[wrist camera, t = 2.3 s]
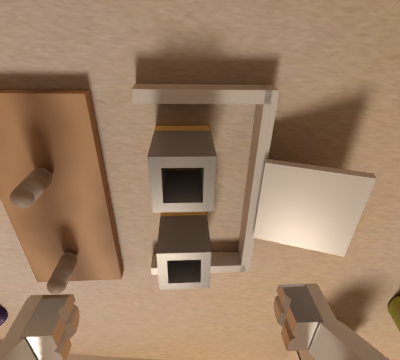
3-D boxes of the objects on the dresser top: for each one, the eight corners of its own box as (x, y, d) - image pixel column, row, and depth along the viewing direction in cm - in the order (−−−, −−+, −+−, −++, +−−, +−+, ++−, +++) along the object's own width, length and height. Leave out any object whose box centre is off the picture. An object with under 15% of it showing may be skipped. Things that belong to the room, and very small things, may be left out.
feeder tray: (362, 85, 21) (412, 102, 17) (308, 255, 31) (330, 296, 26) (135, 83, 20) (121, 101, 15) (153, 260, 30) (148, 303, 25)
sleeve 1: (208, 125, 22) (216, 156, 17) (207, 171, 24) (213, 211, 19) (155, 125, 22) (147, 157, 17) (158, 172, 24) (152, 212, 19)
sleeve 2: (205, 207, 26) (211, 252, 21) (204, 240, 29) (209, 287, 23) (161, 208, 26) (156, 253, 21) (163, 241, 28) (159, 289, 23)
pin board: (89, 90, 20) (60, 111, 15) (123, 270, 30) (112, 317, 25) (-35, 89, 20) (-105, 110, 15) (42, 273, 30) (15, 321, 25)
